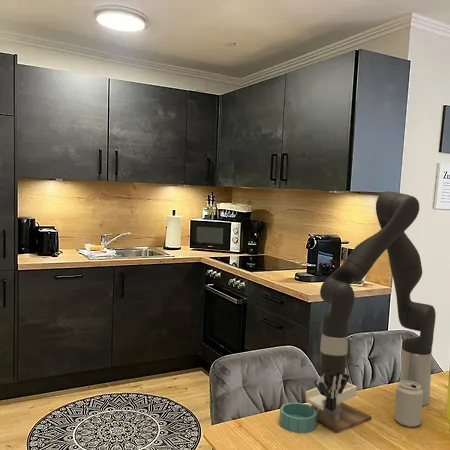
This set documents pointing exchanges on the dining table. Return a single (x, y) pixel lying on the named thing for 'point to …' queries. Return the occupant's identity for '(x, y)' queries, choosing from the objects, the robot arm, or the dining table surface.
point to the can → (408, 403)
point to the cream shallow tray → (320, 400)
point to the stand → (341, 418)
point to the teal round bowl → (298, 417)
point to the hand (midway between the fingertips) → (330, 409)
